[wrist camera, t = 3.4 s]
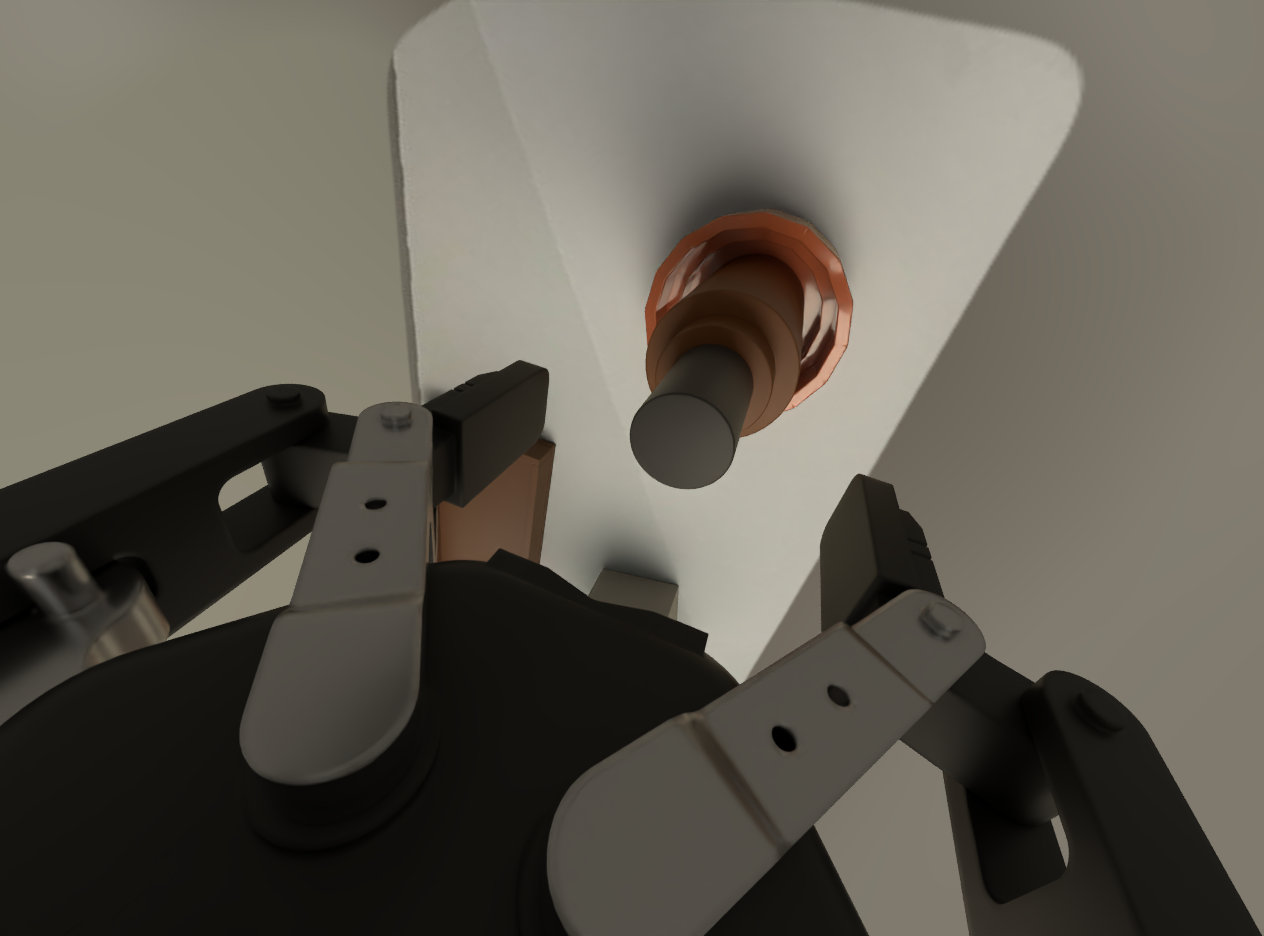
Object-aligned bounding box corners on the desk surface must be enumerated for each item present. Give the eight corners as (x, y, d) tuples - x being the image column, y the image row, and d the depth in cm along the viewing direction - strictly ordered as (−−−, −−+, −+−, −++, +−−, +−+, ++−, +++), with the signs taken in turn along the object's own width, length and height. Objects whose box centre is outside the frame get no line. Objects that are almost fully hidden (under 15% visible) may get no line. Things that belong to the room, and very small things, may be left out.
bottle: (685, 282, 26) (544, 385, 13) (783, 232, 24) (742, 293, 10) (723, 371, 28) (637, 547, 14) (818, 334, 25) (826, 506, 12)
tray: (434, 399, 37) (412, 411, 35) (555, 444, 36) (539, 460, 34) (441, 576, 49) (424, 594, 47) (532, 616, 48) (519, 636, 45)
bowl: (643, 263, 27) (613, 276, 23) (811, 169, 23) (810, 165, 18) (708, 407, 30) (692, 441, 26) (867, 351, 26) (877, 381, 22)
